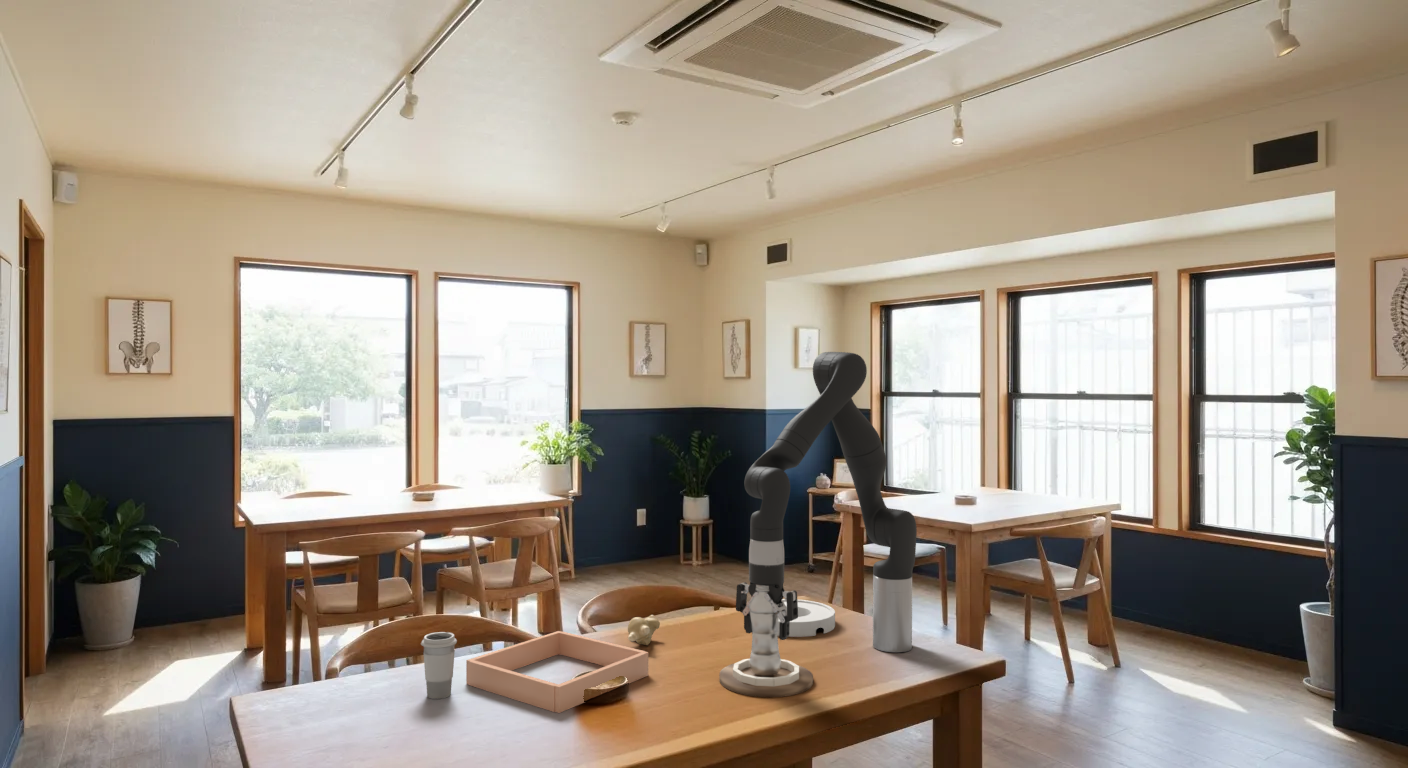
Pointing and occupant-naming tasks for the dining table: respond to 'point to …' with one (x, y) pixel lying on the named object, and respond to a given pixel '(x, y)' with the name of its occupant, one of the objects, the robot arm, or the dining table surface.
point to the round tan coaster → (766, 691)
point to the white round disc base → (811, 619)
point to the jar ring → (766, 680)
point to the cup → (439, 663)
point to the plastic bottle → (764, 635)
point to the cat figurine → (642, 629)
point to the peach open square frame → (500, 679)
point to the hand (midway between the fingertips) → (766, 635)
